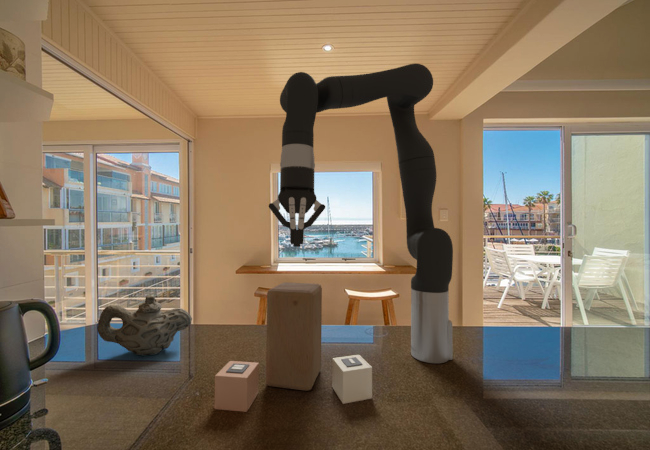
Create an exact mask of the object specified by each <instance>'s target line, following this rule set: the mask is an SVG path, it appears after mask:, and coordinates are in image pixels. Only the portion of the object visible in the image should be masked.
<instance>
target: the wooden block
mask: <svg viewBox="0 0 650 450" xmlns="http://www.w3.org/2000/svg"><path fill="white" fill-rule="evenodd" d="M322 297H323V288H322V285H321V284H320V283H308V282H307V283H306V282H285V281H284V282H282V283H280V284H278V285H276V286H274V287H272V288H270V289H268V290H267V293H266V351H265V353H266V354H265V359H266V360H265V362H266V363H265V364H266V366H265V383H266V386H269V387H274V388H283V389H291V390H298V391H299V390H300V391H307V392H308V391H311V390H312V389H313V386H314V385H315V381H316V380H317V377H318V376H319V374H320V371H321V369H322V326H323V325H322V314H323V313H322V309H323V307H322V306H323V305H322V304H323V301H322V299H323V298H322Z"/></svg>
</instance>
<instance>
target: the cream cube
mask: <svg viewBox="0 0 650 450" xmlns="http://www.w3.org/2000/svg"><path fill="white" fill-rule="evenodd" d="M331 367H332V368H331V369H332V371H331V374H332V375H331V376H332V377H331V378H332V379H331V380H332V382H331V384H332V389H333V391H334V392H335V394H336V395H337V397H338V399H339V400H340V402H341V403H342V404H343V405H344V404H348V403H349V404H350V403H355V402H359V401H360V402H361V401H364V400H365V401H366V400H372V399H373V367H372V365H370V364H369V363H368V361H366V359H364V358H363V357H362V356H361V355H360V354H353V355H347V356H338V357H332V366H331Z"/></svg>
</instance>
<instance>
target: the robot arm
mask: <svg viewBox="0 0 650 450" xmlns="http://www.w3.org/2000/svg"><path fill="white" fill-rule="evenodd" d="M433 85H434V78H433V74H432V73H431V71H430V69H429V68H428V67H427V66H425V65H424V64H421V63H410V64H409V63H408V64H406V65H402V66H399V67H395V68H391V69H386V70H381V71H375V72H370V73H363V74H353V75H349V74H348V75H335V76H334V75H330V76H327V77H324V78H323V79H321V80H320V81H319V82H317V83H316V80H315V79H314V77H313V76H311V75H310V74H309V73H307V72H304V71H298V72H295V73H292V75H291V76H289V78H288V79H287V81H286V83H285V85H284V87H283V89H282V91H281V93H280V96H279V104H280V106H281V109H282V110H283V112H284V113H286V114H285V115H286V116H285V119H284V120H285V121H284V123H283V125H282V133H281V154H280V163H279V166H280V173H279V174H280V182H279V185H280V187H279V188H280V189H279V194H278V195H277V199H276V200H274V201H273V202H271V203H269V204H268V208H269V210H270V211H271V212H272V213H273V215H274V216H275V218H276V219H277V220H278V221H279V223H280V224H281V225H282V227H286V228H288V229H289V230H290V235H289V238H290V240H289V242H290V244H291V245H293V246H292V247H293V248H294V247H295V248H296V247H298V248H300V247H301V245H303V244H304V233H305V232H304V230H305V229H307V228H310V227H312V226H313V224H314V223H316V222H315V221H317V219H318V218H319V217H320V216H321V214H322V213H323V212H324V211H325V209H326V205H325V204H322V203H321V202H320V201H318V200H317V195H316V193H315V168H316V163H315V152H314V136H315V135H314V134H315V133H314V127H315V121H316V116H317V113H321V112H325V111H327V110H335V109H338V110H339V109H346V108H347V109H348V108H353V107H358V106H362V105H365V104H368V103H371V102H374V101H377V100H380V99H383V98H386V101H387V106H388V109H389V115H390V118H391V123H392V127H393V132H394V139H395V145H396V152H397V161H398V163H397V164H398V170H399V171H398V172H399V177H400V178H399V179H400V184H401V189H402V197H403V202H404V203H403V204H404V209H405V223H406V246H407V247H406V248H407V251H408V252H409V254H410V256H411V257H412V258H413V259H415V260H416V270H415V273H414V275H413V276H412V278H411V279H410V354H411V356H412V357H413V358H414V359H416V360H417V361H420V362H424V363H428V364H443V363H446V362H448V361H452V360H453V321H452V320H450V317H449V315H450V313H449V312H450V311H449V307H450V306H449V305H450V304H449V301H450V300H449V297H450V296H449V291H450V290H449V288H450V287H449V285H450V283H451V281H452V277H453V262H454V261H453V259H454V249H453V247H454V246H453V242H452V238H451V236H450V235H449V233H448V232H447V231H445V230H444V229H442V228H438V227H435V224H434V218H433V201H434V195H435V192H436V191H435V190H436V185H437V166H436V160H435V159H436V158H435V154H434V153H435V152H434V150H433V148H432V146H431V144H430V143H429V141H428V139H426V138H425V136H424V135H423V134H422V133H421V132H420V130H419V127H418V125H417V121H416V116H415V105H417V104H418V103H420V102H421V101H422V100H424V99H425V98H427V96H428V95H429V94H430V93H431V91H432V90H433ZM280 205H281V206H282V208H283V209H284V210H285V212H286V214H287V213H288V215H289V221H287V220H286V219H285V217H284V216H283V215H282V213H281V212H280V210H281V206H280ZM313 205H314V207H313ZM312 207H313V211H314V212H313V213H312V215H311V216H310V217H309V218H308V220H306V221H305V217H306V214H307V213H308V212H309V211H310V210H311V209H312ZM296 214H298V218H297V219H298V220H296ZM296 221H297V222H296ZM296 223H297V224H296Z"/></svg>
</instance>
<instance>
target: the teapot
mask: <svg viewBox="0 0 650 450" xmlns="http://www.w3.org/2000/svg"><path fill="white" fill-rule="evenodd" d="M155 297H156V296H155V295H154V296H153V295H146V296H145V299H144V302H142V303H140V304H139V305H138V308H137V309H136V312H132V311H130V310H128V309H127V308H124V307H122V306H121V305H108V306H106V307H105V308H104V309H102V311H101V313H100V315H99V317H98V321H97V326H96V327H97V328H96V330H97V333H98V335H99V337H100V338H101V339H102V340H103V341H104V342H108V343H114V344H118V345H119V346H121V347H123V348H124V349H126V350H127V352H131V353H132V354H135V355H137V356H154V355H158V354H159V353H160V352H161V351H162V350H166V349H168V348H169V347H170V346H171V343H172V342H173V341H174V340H175V339H174V337H175V335H176V334H177V333H178V332H180V331H183V330H186V329H187V328H188V327H189V326H191V325H192V320H193V317H192V315H191V314H190V312H188V311H187V310H186V309H184V308H181V307H180V308H178V307H176V308H172V309H168V310H166V311H162V310H161V309H162V304H161V303H160V302H158V301H156V300H155V299H156V298H155ZM114 318H118V319H120V320H121V321H122V326H121V327H119V328H116V327H113V326H112V325H111V321H112V319H114Z"/></svg>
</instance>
